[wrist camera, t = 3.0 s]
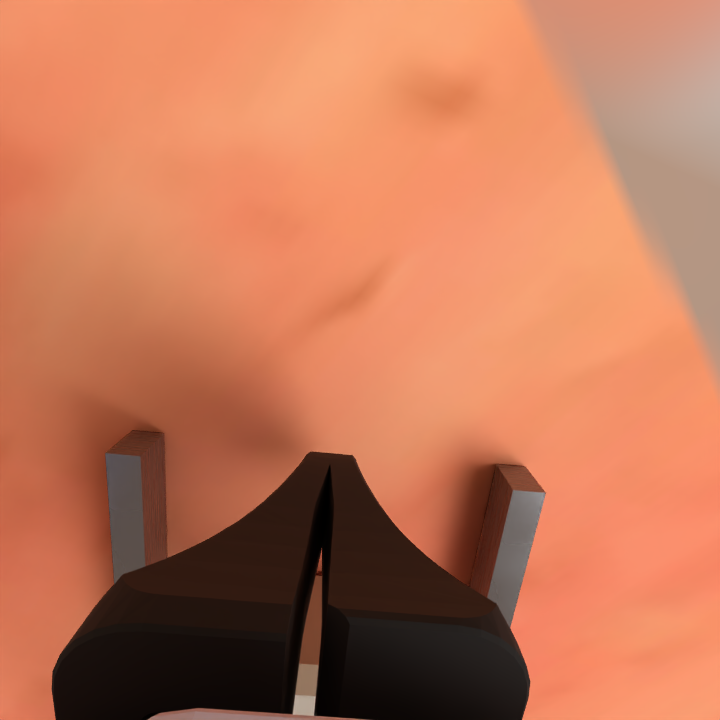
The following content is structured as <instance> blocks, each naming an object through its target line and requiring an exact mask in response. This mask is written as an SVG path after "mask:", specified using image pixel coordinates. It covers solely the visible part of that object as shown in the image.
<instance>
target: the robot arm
mask: <svg viewBox="0 0 720 720" xmlns="http://www.w3.org/2000/svg"><path fill="white" fill-rule="evenodd" d="M321 549H322V626H321V644H320V655H319V666H318V677H317V688H316V698H315V709H314V716H308V715H293V709H294V701H295V693H296V685H297V678H298V670H299V662H300V654H301V647H302V639H303V633H304V628H305V622H306V617H307V613H308V608H309V604H310V599H311V595H312V590H313V586H314V581H315V577H316V572H317V567H318V563H319V558H320V554H321ZM529 688H530V679H529V674H528V670H527V666H526V663H525V661H524V658H523V656H522V653H521V651H520V649H519V646H518V644H517V642H516V639H515V637H514V635H513V633H512V631H511V629H510V627H509V625H508V624H507V622H506V620H505V618H504V616H503V615H502V613H501V611H500V609H499V607H498V605H497V603H495V602H493V601H492V600H490V599H488V598H487V597H485V596H483V595H482V594H480V593H478V592H477V591H475V590H473V589H472V588H470V587H469V586H467V585H465V584H464V583H462V582H460V581H459V580H457V579H456V578H455V577H453V576H452V575H451V574H449V573H448V572H446V571H445V570H444V569H442V568H441V567H440V566H438V565H437V564H436V563H435V562H433V561H432V560H431V559H430V558H428V557H427V556H426V555H425V554H424V553H423V552H422V551H420V550H419V549H418V548H417V547H416V546H415V545H414V544H413V543H412V542H411V541H410V540H409V539H408V538H407V537H406V536H405V535H404V534H403V533H402V532H401V531H400V530H399V529H398V528H397V527H396V526H395V524H394V523H393V522H392V521H391V519H390V518H389V517H388V515H387V514H386V513H385V511H384V510H383V509H382V507H381V506H380V504H379V503H378V501H377V500H376V498H375V497H374V495H373V493H372V492H371V490H370V488H369V487H368V485H367V483H366V481H365V479H364V477H363V475H362V473H361V471H360V469H359V467H358V464H357V462H356V459H355V458H354V457H353V455H343V454H332V453H321V452H309V453H308V454H307V455H306V456H305V458H304V459H303V460H302V462H301V463H300V464H299V466H298V467H297V468H296V469H295V470H294V472H293V473H292V474H291V475H290V476H289V477H288V478H287V479H286V480H285V481H284V482H283V484H282V485H281V486H280V487H279V488H278V489H277V490H275V491H274V492H273V493H272V494H271V495H270V496H269V497H268V498H267V499H266V500H265V501H264V502H262V503H261V504H260V505H259V506H258V507H256V508H255V509H254V510H253V511H251V512H250V513H249V514H247V515H246V516H245V517H243V518H242V519H241V520H239V521H238V522H236V523H234V524H233V525H231V526H229V527H228V528H226V529H224V530H223V531H221V532H219V533H218V534H216V535H214V536H213V537H211V538H209V539H207V540H205V541H203V542H201V543H199V544H197V545H195V546H193V547H191V548H189V549H187V550H185V551H182V552H180V553H178V554H176V555H173V556H171V557H169V558H166V559H164V560H161V561H158V562H156V563H153V564H150V565H147V566H145V567H142V568H139V569H137V570H134V571H131V572H128V573H125V574H123V575H122V576H121V577H120V578H119V579H118V580H117V582H116V583H115V584H114V585H113V586H112V587H111V588H110V589H109V591H108V592H107V593H106V594H105V595H104V596H103V597H102V599H101V600H100V601H99V602H98V604H97V605H96V606H95V607H94V609H93V610H92V611H91V613H90V614H89V615H88V617H87V618H86V620H85V621H84V622H83V624H82V625H81V626H80V628H79V629H78V631H77V632H76V633H75V635H74V636H73V637H72V639H71V640H70V642H69V643H68V644H67V646H66V647H65V649H64V650H63V651H62V653H61V654H60V656H59V658H58V660H57V663H56V665H55V667H54V669H53V674H52V695H53V702H54V710H55V717H56V720H522V718H523V714H524V711H525V708H526V704H527V701H528V696H529Z"/></svg>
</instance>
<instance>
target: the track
mask: <svg viewBox="0 0 720 720" xmlns="http://www.w3.org/2000/svg"><path fill="white" fill-rule="evenodd" d="M105 456H106V471H107V485H108V500H109V514H110V529H111V543H112V558H113V573H114V584H115V583H116V582H117V580H118V579H119V578H120V577H121V576H122V575H123V574H125V573H128V572H131V571H134V570H137V569H139V568H142V567H145V566H147V565H150V564H153V563H156V562H158V561H161V560H164V559H166V558H167V531H166V491H165V451H164V433H156V432H146V431H135V430H133V431H131V432H130V433H129V434H128V435H127V436H125V437H124V438H123V439H122V440H121V441H119V442H118V443H117V444H116V445H114V446H113V447H112V448H111V449H110V450H108V451H107V452H106V453H105ZM545 494H546V493H545V491H544V490H543V489H542V487H541V486H540V485H539V484H538V482H537V481H536V480H535V478H534V477H533V476H532V474H531V473H530V472H529V470H528V469H527V468H526V467H522V466H512V465H501V464H496V468H495V473H494V477H493V482H492V486H491V491H490V495H489V500H488V504H487V509H486V513H485V518H484V522H483V527H482V531H481V536H480V540H479V545H478V549H477V554H476V558H475V563H474V567H473V572H472V576H471V581H470V585H469V587H470V588H472V589H473V590H475V591H477V592H478V593H480V594H482V595H483V596H485V597H487V598H488V599H490V600H492V601H493V602H495V603H497V605H498V607H499V609H500V611H501V613H502V615H503V616H504V618H505V620H506V622H507V624H508V625H509V627H510V626H511V622H512V619H513V615H514V611H515V607H516V603H517V600H518V596H519V592H520V588H521V585H522V581H523V577H524V573H525V569H526V566H527V562H528V558H529V554H530V551H531V547H532V543H533V539H534V535H535V532H536V528H537V524H538V520H539V516H540V513H541V509H542V505H543V501H544V498H545Z"/></svg>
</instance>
